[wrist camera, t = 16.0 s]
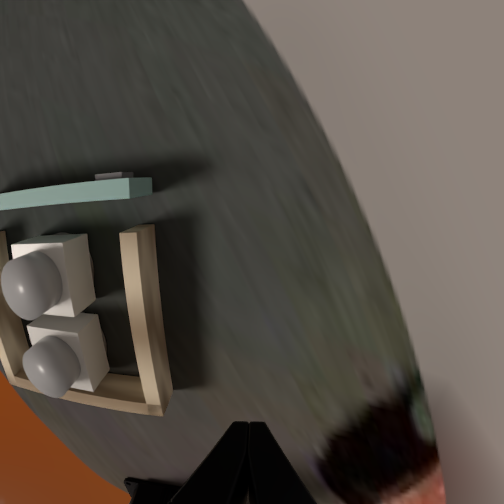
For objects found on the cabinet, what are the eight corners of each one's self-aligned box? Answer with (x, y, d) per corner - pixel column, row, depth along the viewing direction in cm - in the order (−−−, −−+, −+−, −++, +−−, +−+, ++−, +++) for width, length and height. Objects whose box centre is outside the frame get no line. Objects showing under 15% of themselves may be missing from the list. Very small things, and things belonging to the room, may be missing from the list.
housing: (173, 390, 21) (163, 416, 18) (28, 366, 22) (10, 383, 19) (154, 224, 19) (136, 232, 16) (-3, 231, 19) (-28, 238, 16)
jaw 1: (87, 233, 19) (42, 250, 14) (96, 299, 20) (57, 331, 15) (37, 236, 19) (-10, 251, 14) (46, 296, 20) (5, 323, 15)
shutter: (152, 194, 18) (129, 198, 15) (-7, 209, 18) (-38, 215, 15) (151, 171, 18) (128, 170, 14) (-8, 191, 18) (-39, 196, 15)
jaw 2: (109, 369, 21) (81, 409, 16) (62, 361, 21) (30, 395, 16) (98, 314, 20) (61, 347, 15) (49, 309, 20) (9, 338, 15)
